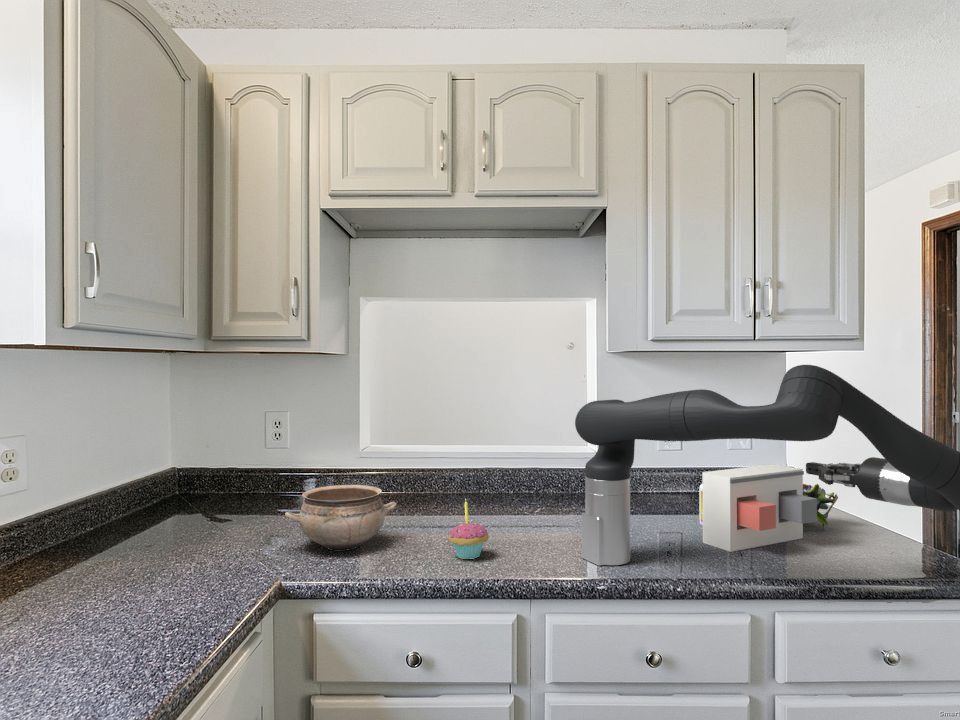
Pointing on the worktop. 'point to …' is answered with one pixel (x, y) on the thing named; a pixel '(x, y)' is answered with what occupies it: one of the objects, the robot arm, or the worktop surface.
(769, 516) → the red button
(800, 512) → the grey button
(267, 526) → the worktop surface
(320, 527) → the cooking pot
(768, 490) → the push button box
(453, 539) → the cupcake
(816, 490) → the passion flower
